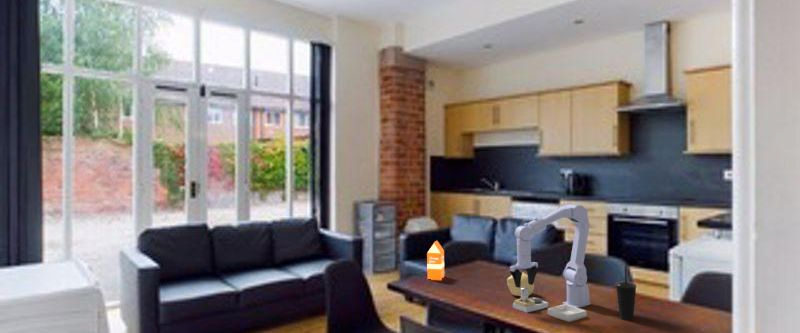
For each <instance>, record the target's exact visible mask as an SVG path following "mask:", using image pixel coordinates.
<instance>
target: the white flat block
mask: <svg viewBox="0 0 800 333" xmlns="http://www.w3.org/2000/svg"><path fill="white" fill-rule="evenodd" d="M528 300H529V302H526V303H524V302H521V298H518V299H514V302H513V303H512V308H513V309H516V310H519V311H521V312H524V313H530V312H535V311H538V310H543V309H548V308H549V302H548V301H545V300H543V299H542V298H540V297H534V296H532V297H528Z"/></svg>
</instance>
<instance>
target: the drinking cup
mask: <svg viewBox="0 0 800 333" xmlns="http://www.w3.org/2000/svg"><path fill="white" fill-rule="evenodd" d="M627 270H628V269H627V268H625V267H624V280H621V281H617V282H616V283H615V284H614V285H615V286H616V295H617V305H618V312H619V319H621V320H623V321H633V320H634V313H635V304H636V289H637V284H636V283H634V282H631V281H628V275H627V274H628V273H627Z"/></svg>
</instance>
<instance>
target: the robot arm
mask: <svg viewBox="0 0 800 333" xmlns="http://www.w3.org/2000/svg"><path fill="white" fill-rule="evenodd" d="M588 213H589V211H588V210H587V209H586V207H584V206H583V205H581V204H573V203H566V204H564V205H561V206H560V207H558V208H557V209H556V210H554V211H552V212H550V213H549V214H548V215H546V216H544V217H533V220H531V221H529V222H525V223H524V225H519V226H518V227H516V229H515V231H514V233H513V235H514V237H515V238H516V257H517V259H516V261H517V262H516V263H515V264H513V265H510V266H509V273H510V276H511V275H512V277H513V279H514V282H515V286H516V287H518V288H520V286H521V276H522V272H523V271H521V270H526V273H527V275H528V283H529V284H530V285H533V283H534V282H535V278H536V276H537V274H538V272H539V268H538V267H539V264H538V263H539V262H535V261H533V262H532V248H531V246H532V244H531V240H532V239H533V237H534V236H535V235H537V234H539V233H541V232H543V231H545V230H546V229H547V226H549V225H550V224H552V223H554V222H556V221H558V220H561V219H568V220H570V221H571V222H572V223H573V225H574V226H575V230H574V236H573V242H572V249H571V255H570V260H569V262H568V263H566V266H565V268H564V270H563V273H562V275H563V278H564V279H565V280H566V282H565V283H566V301H563V302H562V303H561V304H562V305H563V304H567V305H570V306H573V307H576V308H579V309H580V308H582V307H586V306H589V305H591V304H592V303H591V302H590V288H589V286H588V284H586V283H587V280H588V276H587V275H588V274H587V268H586V266H585V264H584V262H585V256H586V250H587V249H586V248H587V243H588V237H589V230H590V220H589V216H588V215H589V214H588Z"/></svg>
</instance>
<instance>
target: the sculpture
mask: <svg viewBox="0 0 800 333" xmlns="http://www.w3.org/2000/svg"><path fill="white" fill-rule="evenodd" d="M521 272H522V276H521V286H520V288H518V287H516V286H515V282H514V279H513V277H512V275H511V274H510V276H509V277H508V278H507V279H506V282H507V283H506V284H507V287H508V289H509V291H510V293H511V294H512V295H513V296H516V297H521V287H527V288H528V297H529V296H531V295H533V292H534V290H535V284H534V283H533V285H530V284H529V283H528V274H526V273H525V272H524V271H521Z"/></svg>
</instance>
